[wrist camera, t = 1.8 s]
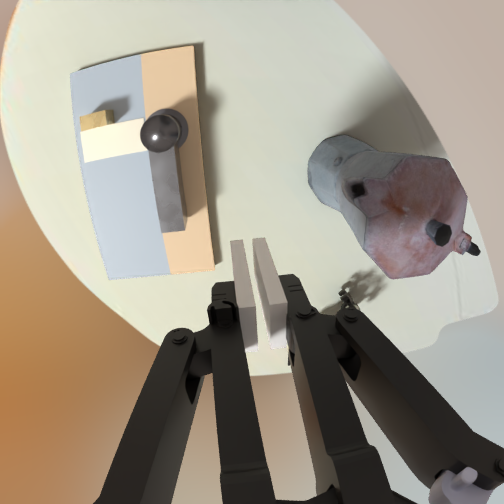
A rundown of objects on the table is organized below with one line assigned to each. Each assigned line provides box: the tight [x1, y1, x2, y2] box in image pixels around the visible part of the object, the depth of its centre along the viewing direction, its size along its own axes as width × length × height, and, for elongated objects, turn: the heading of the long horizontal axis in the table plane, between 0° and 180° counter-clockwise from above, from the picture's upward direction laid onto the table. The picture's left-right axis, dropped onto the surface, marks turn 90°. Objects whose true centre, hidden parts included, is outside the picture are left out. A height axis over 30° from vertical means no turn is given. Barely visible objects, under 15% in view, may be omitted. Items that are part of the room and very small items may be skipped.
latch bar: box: [140, 114, 188, 233], centre depth 28 cm, size 12×4×4 cm, turn 3°
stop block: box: [79, 109, 115, 131], centre depth 25 cm, size 2×3×2 cm, turn 93°
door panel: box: [70, 46, 215, 280], centre depth 30 cm, size 26×14×1 cm, turn 3°
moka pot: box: [308, 135, 481, 279], centre depth 24 cm, size 10×15×20 cm, turn 75°
